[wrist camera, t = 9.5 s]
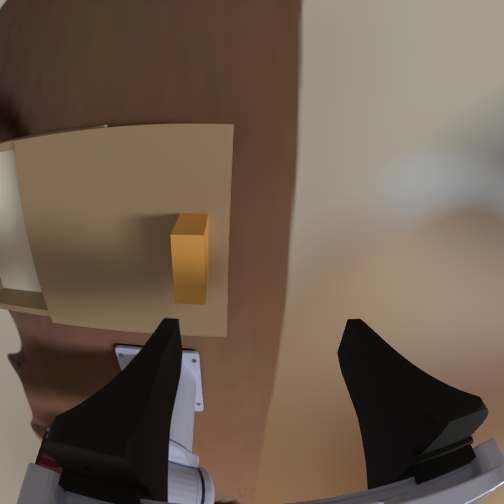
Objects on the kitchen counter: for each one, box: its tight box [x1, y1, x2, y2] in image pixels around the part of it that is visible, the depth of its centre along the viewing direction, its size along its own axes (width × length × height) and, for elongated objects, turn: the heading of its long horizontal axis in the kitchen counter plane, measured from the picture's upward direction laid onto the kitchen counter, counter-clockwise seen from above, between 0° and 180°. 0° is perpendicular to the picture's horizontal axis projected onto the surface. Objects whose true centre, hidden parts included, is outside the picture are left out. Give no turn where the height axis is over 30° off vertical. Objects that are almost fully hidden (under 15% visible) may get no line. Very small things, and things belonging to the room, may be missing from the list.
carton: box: [0, 125, 108, 316], centre depth 19 cm, size 14×14×3 cm
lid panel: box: [14, 123, 234, 337], centre depth 16 cm, size 14×14×4 cm
